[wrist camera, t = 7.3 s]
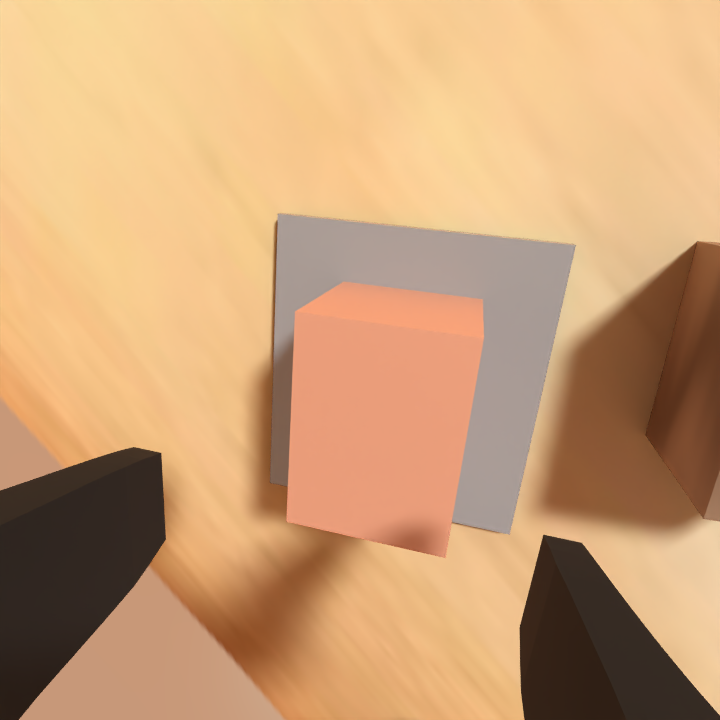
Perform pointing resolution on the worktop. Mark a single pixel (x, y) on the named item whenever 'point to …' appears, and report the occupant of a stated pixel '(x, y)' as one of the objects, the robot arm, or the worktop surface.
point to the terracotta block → (382, 412)
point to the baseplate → (451, 277)
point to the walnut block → (693, 388)
